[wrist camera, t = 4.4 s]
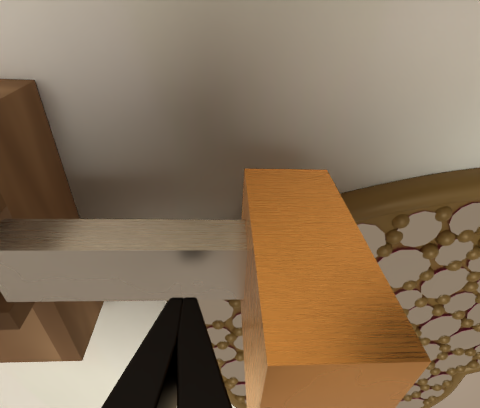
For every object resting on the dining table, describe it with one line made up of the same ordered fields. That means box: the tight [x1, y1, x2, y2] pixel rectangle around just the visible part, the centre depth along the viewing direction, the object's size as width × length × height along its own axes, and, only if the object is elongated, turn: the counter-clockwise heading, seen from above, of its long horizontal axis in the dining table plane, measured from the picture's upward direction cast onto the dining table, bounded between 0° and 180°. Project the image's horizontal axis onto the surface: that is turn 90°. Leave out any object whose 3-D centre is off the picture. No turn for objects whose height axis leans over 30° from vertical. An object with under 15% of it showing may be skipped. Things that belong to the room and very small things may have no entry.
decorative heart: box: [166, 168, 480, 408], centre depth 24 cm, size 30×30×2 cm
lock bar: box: [0, 169, 431, 408], centre depth 10 cm, size 11×5×7 cm, turn 87°
